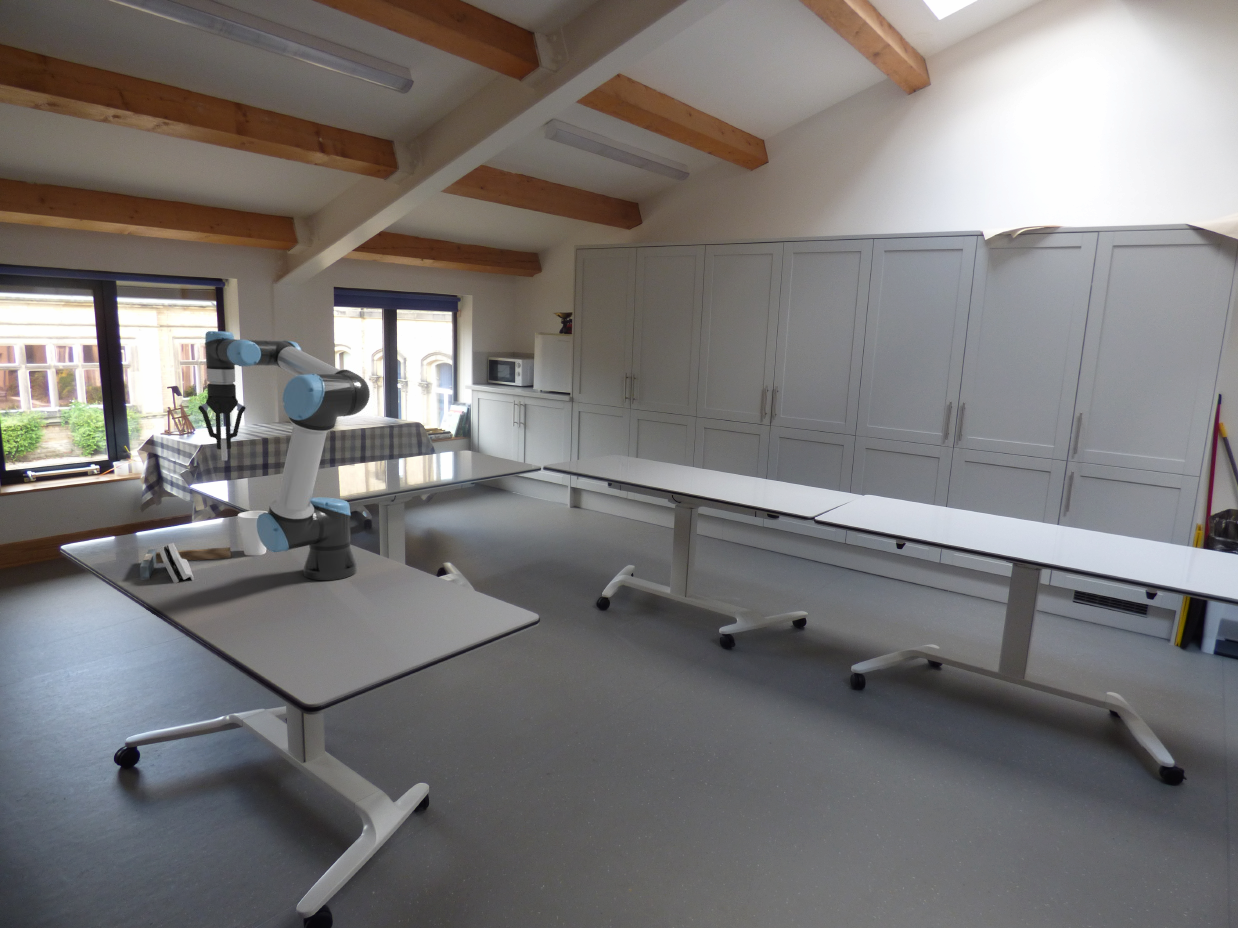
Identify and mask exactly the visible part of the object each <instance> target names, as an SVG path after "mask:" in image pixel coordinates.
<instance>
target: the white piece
mask: <svg viewBox="0 0 1238 928" xmlns="http://www.w3.org/2000/svg"><path fill="white" fill-rule="evenodd" d="M178 551H179V550H178V549H177V547H176V545H175V543H174V542H172V543H168V544H167V545H166V546H164V545H163V546H161V547H159V551H158V552H160V554H161V557H162V560H163V564H164V566H165V568H166V570H167V572H168V574H169V576H170V577H171V580H172V582H173V583H174V584H177V583H179V581H181V580H186V579H188V578H190V579H191V581H195V578H194V575H193V572H192V569H191V566H190V564H189V561H187V560H186V559H182V558H181V557H180V555H179V553H178ZM180 579H181V580H180Z"/></svg>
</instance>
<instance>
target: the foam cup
mask: <svg viewBox="0 0 1238 928" xmlns="http://www.w3.org/2000/svg"><path fill="white" fill-rule="evenodd" d="M264 512H265V513H268V511H265V510H251V511H250V510H249V511H244V512H239V513H238V514H237V523H238V525H239V526H238V527H239V533H240V537H241V542H242V549H243V553H244V555H245V556H254V557H255V556H261V555H264V554H266V553H267V548H266V547H265V546H264V545H263V544H262V542H261V540H260V538H259V535H258V532H257V518H258V516H259V515H261V514H263V513H264Z"/></svg>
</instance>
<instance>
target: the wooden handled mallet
mask: <svg viewBox="0 0 1238 928" xmlns="http://www.w3.org/2000/svg"><path fill="white" fill-rule="evenodd" d="M177 551H178V553H179V555H180V557H181V558H182V559H186V560H187V561H188V562H189V561H190V562H191V561H202V560H215V559H227V558H229V559H230V558H231V555H232V554H231V553H232V552H231V547H216V548H215V547H213V548H200V549H198V548H197V549H185V550H177ZM157 564H164V562H163V560H162V557H161V554H160V551H157V548H155V549H154V548H151V549H148V550H147V551H146V554H145V556H144V558H143V560H142V562H141V564H140V566H139V570H140V571H139V572H140V573H139V574H140V575H139V576H140V581H143V580H144V581H145V580H150V578H151V576H152V574H153V572H154V570H155V567H156V565H157Z"/></svg>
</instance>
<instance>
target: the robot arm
mask: <svg viewBox="0 0 1238 928" xmlns="http://www.w3.org/2000/svg"><path fill="white" fill-rule="evenodd" d="M204 337H205V338H204V339H205V342H204V346H205V364H206V381H207V385H206V387H207V388H206V389H207V399H206V401H205V402H204V403H203V404H200V405H199V406H198V407H197V408H198V410H199V412H200V413H201V415H202V416H203V420H204V423H205V425H206V428H207V429H206V430H207V432H208V436H209V437H210V438H213V439H215V440H216V449H217V450H220V455H221V461H222V462H223V461H228V450H231V448H232V438H236V437H237V436H238V433H239V429H240V425H241V420H242V416H243V414H244V412H245V411H246V410H247V407H246V405H242V404H241V403H239V401H238V400H239V399H237V391H236V390H237V389H236V388H237V387H236V384H235V382H236V367H235V366H239V367H252V366H265V367H266V366H273V367H274V366H276V367H278V368H280V369H283V370H284V371H286V372H288V373H290V374H292V375H293V376H294V377H292V378H291V379H290V380H289V381H288V382H287V383H286V385H285V387H284V389H283V393H282V403H283V405H282V406H283V411H284V412H285V414H286V415H287V416H288V420H289V422H290V423H291V424H292V430H291V435H290V438H289V439H290V440H289V445H288V449H287V451H286V453H287V454H286V458H285V462H284V467H283V471H282V476H281V481H280V486H279V490H278V494H277V497H276V498H273V499H272V500H271V501H270V504H269V507H268V511H267V512H268V513H265V512H264V513H263V514H261V515H259V516H258V518H257V532H258V535H259V538H260V540H261V542H262V544H263V545H264V546H265V547H266V550H268V551H269V552H272V553H280V552H288V551H290V550H295V549H298V548H303V547H307V546H309V548H308V549H309V550H308V553H307V555H306V559H305V561H304V564H303V576H304V577H305V578H308V579H310V580H313V581H314V580H315V581H334V580H342V579H345V578H349V577H351V576H354V575H355V574H356V573H357V570H358V569H357V568H358V567H357V561H356V558H355V556H354V553H353V551H352V548H351V516H352V515H351V510H350V509H351V508H350V503H349V502H348V501H347V500H344V499H341V498H335V497H323V496H322V497H318V496H317V497H313V493H314V489H315V484H316V480H317V476H318V471H319V468H320V462H321V460H322V455H323V451H324V448H325V447H324V446H325V442H326V438H327V435H328V434H327V433H328V432H330V431H332V430H333V429H334V428H335V426H336V421H337V419H338V418H340V417H349V416H354V415H356V414H358V413H360V412H362V411H363V410H364V409H365V408H366V406H367V405H368V403H369V400H370V395H371V393H370V388H369V385H368V383H367V381H366V380H365V379H364V378H363V377H362V376H361V375H359V374H358V373H355V372H353V371H351V370H349V369H339V368H337V367H335V366H333V365H331V364H329V363H327V362H324V361H323V360H320V359H319V358H317V357H315V356H312V355H310V354H308V353H307V352H304V351H303V350H302V347H301V346H300V345H299V344H298V343H297V342H295V341H289V340H262V339H261V340H260V339H259V340H258V339H254V340H253V339H238V338H237V339H235V338H234V337H235V336H234V333H233V332H232V331H231V332H230V331H223V330H222V331H216V330H210V331H209V330H207V331H206V332H205V336H204ZM208 407H209V409H210V410H211V411H212V412H213V413H214V415H215V432H214V429H213V425H212V422H211V420H210V416H209V413H208ZM235 408H236V411H237V415H236V419H235V422H234V426H233V432H231V413H232V412H233V411H234V410H235ZM221 414H224V417H225V418H224V423H225V424H224V425H225V437H223V438H222V427H221V425H222V424H221Z"/></svg>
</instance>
